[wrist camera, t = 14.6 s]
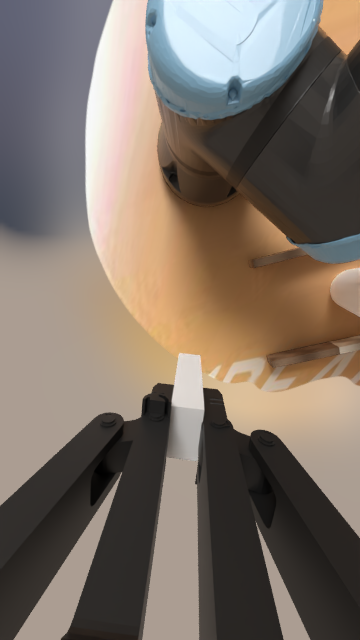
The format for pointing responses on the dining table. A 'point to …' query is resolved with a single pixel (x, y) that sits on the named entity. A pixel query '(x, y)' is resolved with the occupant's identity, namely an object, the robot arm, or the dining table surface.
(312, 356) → the lane
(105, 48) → the dining table surface
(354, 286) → the foam cup
